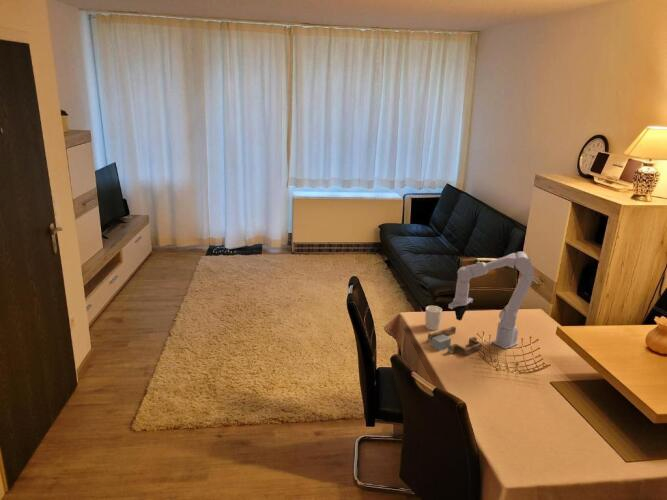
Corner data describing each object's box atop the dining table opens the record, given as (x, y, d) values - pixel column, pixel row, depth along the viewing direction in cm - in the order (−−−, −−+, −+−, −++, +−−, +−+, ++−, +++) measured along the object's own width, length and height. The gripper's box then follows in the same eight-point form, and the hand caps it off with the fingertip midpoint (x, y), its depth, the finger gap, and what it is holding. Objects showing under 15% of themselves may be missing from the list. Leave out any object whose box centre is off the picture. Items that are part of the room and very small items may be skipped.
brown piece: (452, 331, 241) (453, 324, 240) (484, 348, 226) (485, 341, 225) (427, 340, 231) (428, 333, 230) (459, 358, 216) (460, 351, 215)
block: (441, 342, 230) (442, 334, 229) (450, 347, 226) (451, 338, 225) (431, 346, 226) (432, 337, 225) (439, 351, 222) (440, 342, 221)
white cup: (420, 325, 247) (422, 306, 244) (433, 322, 250) (435, 304, 247) (430, 332, 240) (432, 313, 237) (443, 329, 243) (445, 310, 240)
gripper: (465, 286, 235) (462, 312, 239) (444, 292, 227) (441, 319, 231) (477, 291, 230) (474, 318, 234) (456, 298, 222) (453, 325, 226)
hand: (458, 319), depth 232 cm, fingers closed
